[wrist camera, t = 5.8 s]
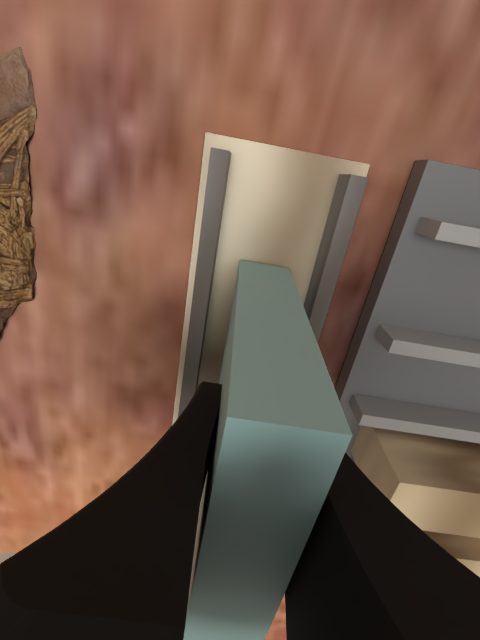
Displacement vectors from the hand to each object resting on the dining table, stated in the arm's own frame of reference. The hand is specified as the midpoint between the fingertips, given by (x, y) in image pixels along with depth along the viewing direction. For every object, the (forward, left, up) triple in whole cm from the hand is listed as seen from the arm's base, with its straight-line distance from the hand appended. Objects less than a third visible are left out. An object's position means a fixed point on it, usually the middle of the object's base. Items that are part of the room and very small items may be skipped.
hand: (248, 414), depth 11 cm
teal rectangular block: (0, 0, -5) cm, 5 cm away
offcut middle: (-10, +4, -5) cm, 12 cm away
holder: (0, 0, -6) cm, 6 cm away
